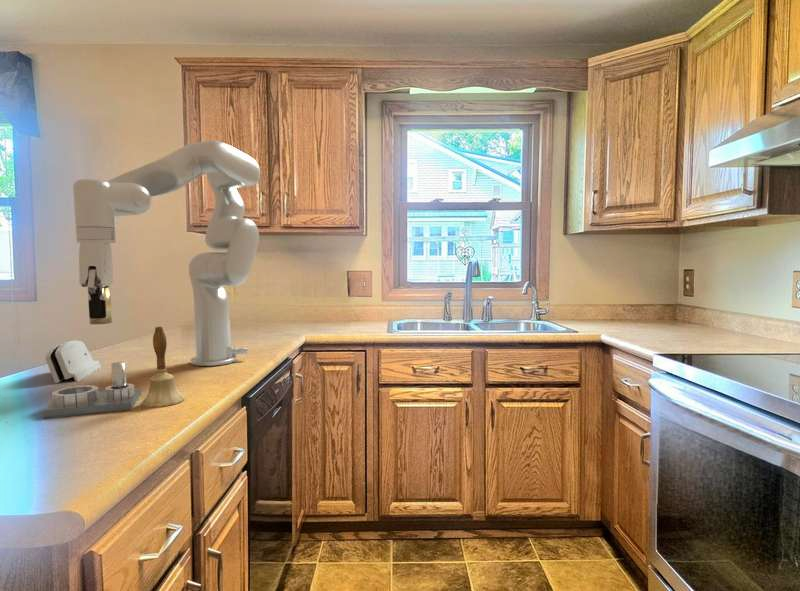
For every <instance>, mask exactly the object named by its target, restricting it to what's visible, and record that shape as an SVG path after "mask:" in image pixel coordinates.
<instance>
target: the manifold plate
mask: <svg viewBox="0 0 800 591" xmlns="http://www.w3.org/2000/svg"><path fill="white" fill-rule="evenodd" d="M126 364H127V363H126V362H125V361H117V362H111V364H110V365H111V366H110V367H111V385H109V386H106V387H105V388H104V390H99V386H96V385H91V384H90V385H86V384H84V385H76V386H74V385H73V386H68V387H64V388H60V389H56V390H54V391H53V392H51V403H50V404H49V405H48V406H46V407H45V408H43V410H42V418H43V419H49V418H59V417H60V418H62V417H71V416H83V415H95V414H104V413H103V412H105V413H115V412H124V411H123V410H126V411H132V410H133V408H134V407H135V405H136V404H137V402H136V401H138V400H139V399H140V397H141V395H142V388H141V387H136V388H135V385H134V384H133V383H127V368H126V366H127V365H126ZM139 396H140V397H139ZM138 398H139V399H138ZM133 406H134V407H133ZM131 409H132V410H131Z"/></svg>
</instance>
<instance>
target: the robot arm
mask: <svg viewBox="0 0 800 591" xmlns="http://www.w3.org/2000/svg"><path fill="white" fill-rule="evenodd" d="M203 175H206V180H207V181H208V184H209V186H210V188H211V190H212V192H213V195H214V198H215V201H214V202H215V203H214V208H213V211H212V214H211V217H210V220H209V223H208V225H207V228H206V232H205V238H204V239H205V244H206V246H207V247H208V248H209V249H210V250H213V252H212V251H211V252H208V251H207V252H202V253H198V254H196V255H195V256H193V257H192V258H191V260H190V262H189V264H188V275H189V278H190V279H189V280H190V283H191V287H192V293H193V294H192V295H193V312H194V313H193V314H194V316H193V317H194V337H195V338H194V339H195V356H194V357H191V358H190V364H191V365H192V366H200V367H204V366H205V367H209V366H210V367H211V366H221V365H228V364H231V363H234V362H236V361H237V360H238V359H237V358H238V356H237V355H247V354H248V347H246V346H245V347H243V346H240V347H235V346H233V343H231V341H232V340H231V318H230V316H231V315H230V314H231V313H230V299H229V295H228V292H227V290H226V289H225V287H239V286H241V285H243V284H245V282H246V281H247V280H248V278H249V276H250V273H251V270H252V268H253V264H254V261H255V256H256V254H257V251H258V246H259V243H260V232H259V229H258V227H257V225H256V223H255V222H254V221H253V220H252V219H249V218H247V217H244V215H245V207H246V206H245V203H244V201H243V200H244V199H243V198H242V196H241V194H240V193H239V191H238V188H240V189H241V188H249V187H253V186H255V185H256V184H257V183H259V181H260V179H261V168H260V166H259V164H258V163H257V161H256V160H255V159H254V158H253V157H251V156H250V155H249V154H247V153H244V152H243V151H241V150H239V149H237V147H234V146H232V145H230V144H228V143H225V142H223V141H219V140H216V139H215V140H214V139H213V140H204V141H198V142H197V141H196V142H191V143H188V144H186V145H184V146H182V147H180V148H178V149H177V150H175V151H173V152H170V153H169V154H167V155H165V156H163V157H161V158H158V159H157V160H155V161H152V162H149V163H147V164H144V165H142V166H140V167H137V168H135V169H133V170H129V171H128V172H127V171H126V172H124V173H122V174H119V175H117V176H115V177H113V178H111V179H110V180H107V181H105V180H103V179H102V180H101V179H93V178H88V179H87V178H86V179H84V178H82V179H77V180H76V181H74V182H73V188H72V189H73V190H72V191H73V205H74V206H73V207H74V220H75V223H74V224H75V237H76V238H75V239H76V240H75V241H76V243H78V244H79V249H78V250H79V251H78V252H79V253H78V269H79V270H78V274H79V275H78V278H79V280H78V281H79V286H80V287H82V288H87V299H88V300H89V301H88V300H87V302H89V303H88V315H89V316H88V317H90V319H97V318H106V301H105V300H104V287H110V286H111V285H112V284H113V282H114V267H113V255H112V254H113V253H112V252H113V251H112V245H111V243H112V244H114V243H117V242H116V228H115V217H120V216H121V217H122V216H124V217H125V216H127V217H129V216H138V215H142V214H144V213H146V212H147V211H148V210H150V207H151V206H152V201H153V200H152V198H153V197H157V196H163V195H167V194H170V193H173V192H177V191H179V190H180V189H182V188H183V187H185V186H187V185H188V184H190V183H191V182H193V181H194V180H197V179H198V178H200V177H201V176H203ZM214 251H215V252H214ZM98 289H100V292H99V290H98ZM90 319H89V320H90Z"/></svg>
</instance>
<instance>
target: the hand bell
mask: <svg viewBox="0 0 800 591" xmlns="http://www.w3.org/2000/svg"><path fill="white" fill-rule="evenodd" d="M167 341H168V340H167V336H166V333H165V331H164V327H163V326H156V327H155V329H154V333H153V337H152V345H153V346H152V347H153V350H154V353H155V355H156V369H157V371H156V372H157V373H156V374H155V375H153V376H152V377H151V378H150V383H149V389H148V392H147V395H146V397H145V398H144V399H143V400H142V402H141V406H142V407H145V406H147V407H146V408H163V407H169V406H174V405H177V404H180V403H182V402H184V401H185V399H186V398H185V395H183V394H182V393H181V392H180V390H178V388H177V385H176V382H175V376H174V375H173V374H171V373H168V372H167V367H166V365H167V364H166V352H167V348H168V347H167V344H168V343H167Z"/></svg>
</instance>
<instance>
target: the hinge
mask: <svg viewBox="0 0 800 591" xmlns="http://www.w3.org/2000/svg"><path fill="white" fill-rule="evenodd" d="M44 359H45V361H46V364H47V366H48V369H49V372H50V374H51V376H52V378H53V381H54V383H55V384H57V383H60V382H61V381H62V382H63V381H64V380H68V379H71V378H73V379H74V381H75V382H76V381H77V382H79V381H81V380H83V379H85V378H86V377H88V376H90V375H91V374H93V373H94V372H96V371H98V370H99V369H101V368H102V366H101V363H100V362H99V361H98V360H94V358H93V357H92V354H91V353H90V351H89V349H88V348H87V345H86V344H85V343H84V342H83V341H82V340H69V341H64V342H63V343H60V344H59V343H58V344H57V345H55V346H54V347H52V348H51V349H50V350H49V351H48V352H47V353H46V355H45V358H44ZM100 367H101V368H100ZM98 368H99V369H98ZM97 369H98V370H97ZM95 370H96V371H95ZM93 371H94V372H93ZM92 372H93V373H92ZM90 373H91V374H90ZM87 375H88V376H87ZM85 376H86V377H85ZM82 378H83V379H82Z"/></svg>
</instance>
